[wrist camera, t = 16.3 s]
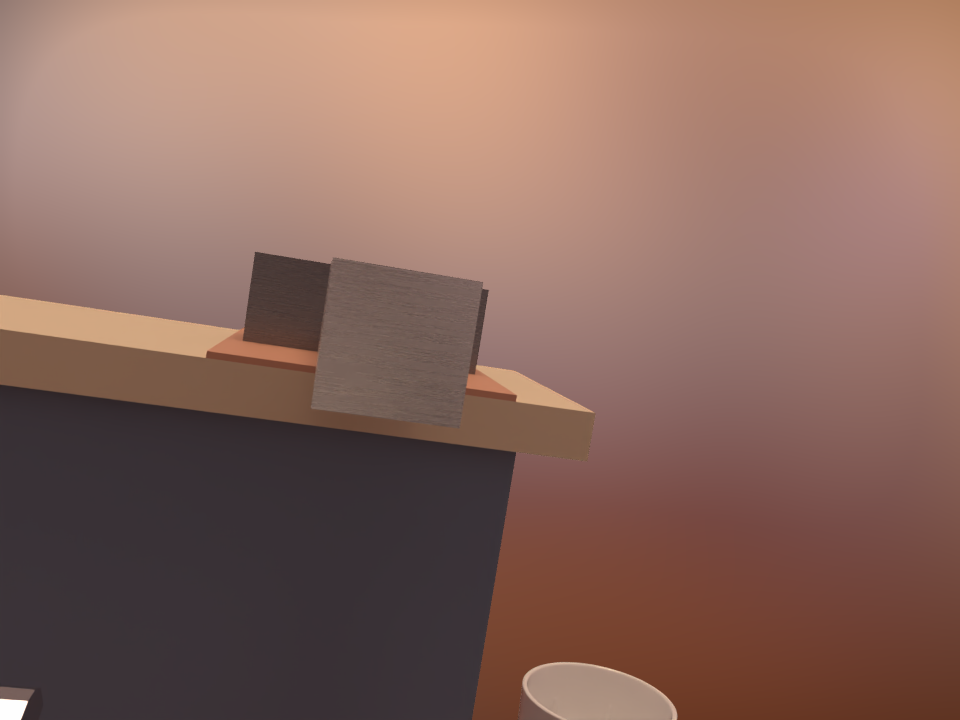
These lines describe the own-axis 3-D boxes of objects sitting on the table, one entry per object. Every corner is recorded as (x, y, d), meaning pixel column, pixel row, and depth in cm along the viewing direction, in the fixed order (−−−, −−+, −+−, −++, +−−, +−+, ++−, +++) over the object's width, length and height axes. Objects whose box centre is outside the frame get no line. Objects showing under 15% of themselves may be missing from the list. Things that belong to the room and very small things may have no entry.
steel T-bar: (179, 390, 17) (201, 236, 17) (249, 334, 33) (261, 253, 33) (576, 444, 19) (600, 301, 18) (462, 365, 34) (474, 288, 34)
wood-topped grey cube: (-478, 1224, 24) (-388, 265, 22) (-213, 913, 36) (-140, 268, 34) (460, 1201, 29) (596, 406, 27) (422, 931, 41) (515, 366, 39)
